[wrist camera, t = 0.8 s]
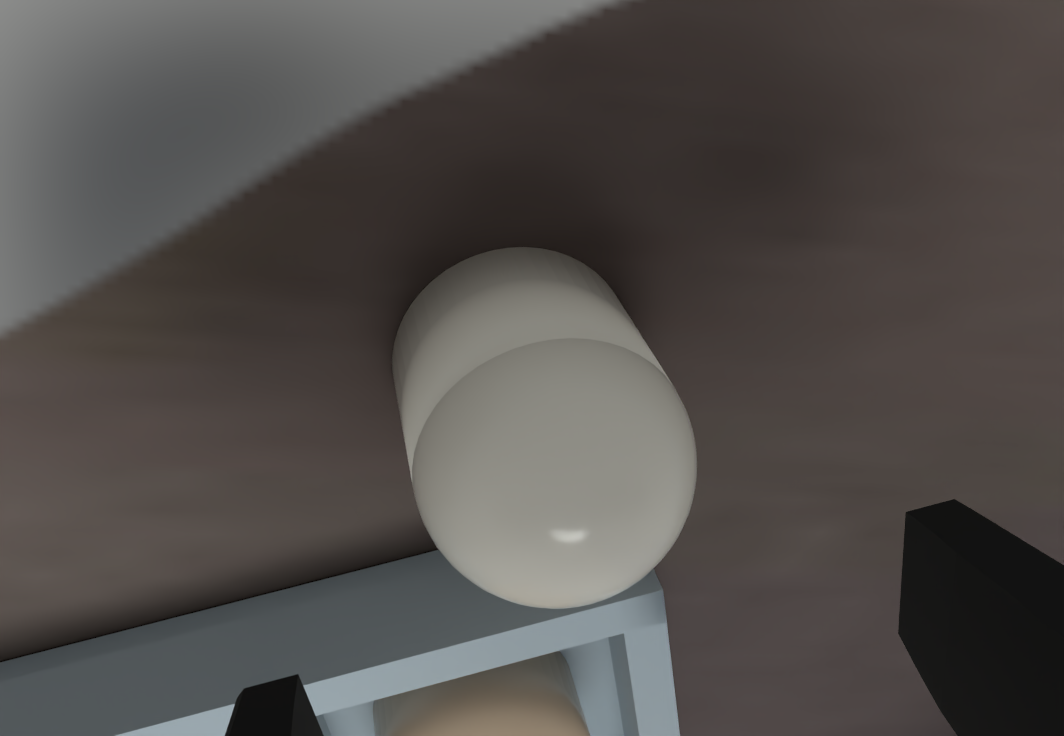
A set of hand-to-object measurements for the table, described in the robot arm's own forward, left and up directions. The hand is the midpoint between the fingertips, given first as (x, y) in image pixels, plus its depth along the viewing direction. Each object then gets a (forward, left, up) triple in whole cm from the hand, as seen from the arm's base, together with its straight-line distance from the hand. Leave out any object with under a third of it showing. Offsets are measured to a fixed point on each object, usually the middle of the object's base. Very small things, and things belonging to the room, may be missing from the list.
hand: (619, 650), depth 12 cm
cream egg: (0, 0, -7) cm, 7 cm away
